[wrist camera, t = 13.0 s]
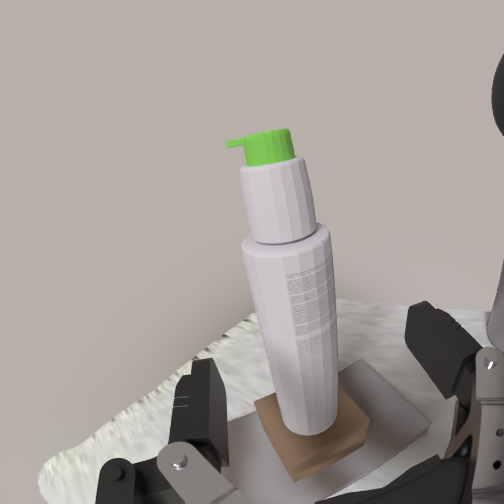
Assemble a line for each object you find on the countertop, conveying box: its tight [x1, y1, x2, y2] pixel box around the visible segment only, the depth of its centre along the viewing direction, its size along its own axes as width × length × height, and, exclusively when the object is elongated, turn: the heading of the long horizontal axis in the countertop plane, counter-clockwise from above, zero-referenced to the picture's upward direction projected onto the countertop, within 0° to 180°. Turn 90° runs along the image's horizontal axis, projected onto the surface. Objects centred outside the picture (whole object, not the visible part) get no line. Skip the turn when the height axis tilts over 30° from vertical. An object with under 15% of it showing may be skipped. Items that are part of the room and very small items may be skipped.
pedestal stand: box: [221, 359, 431, 504], centre depth 21 cm, size 20×12×6 cm, turn 111°
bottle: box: [227, 129, 338, 436], centre depth 16 cm, size 4×4×20 cm
